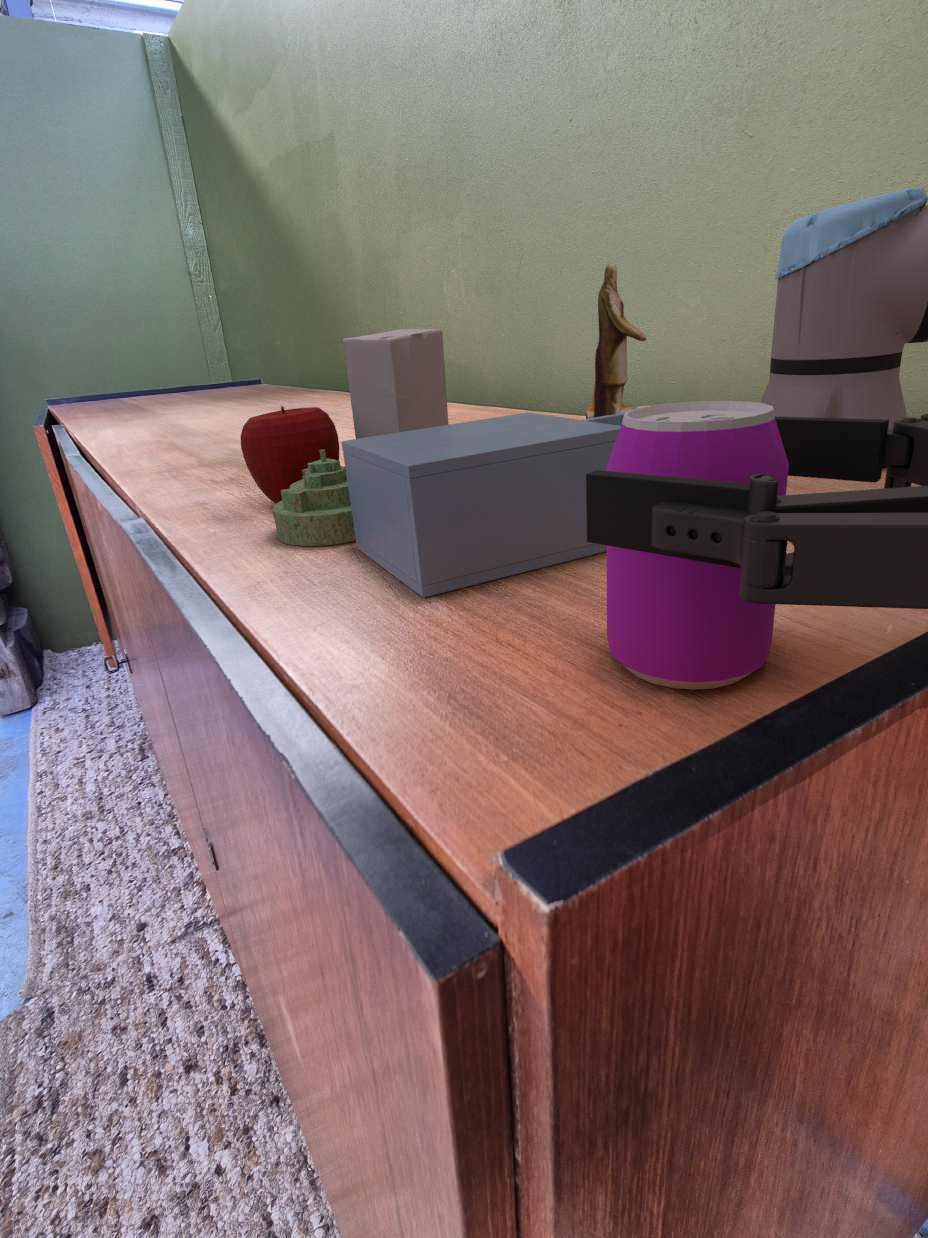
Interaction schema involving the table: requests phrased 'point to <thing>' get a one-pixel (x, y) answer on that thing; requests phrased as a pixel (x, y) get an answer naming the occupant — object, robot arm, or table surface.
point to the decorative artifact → (316, 507)
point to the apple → (286, 446)
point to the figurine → (611, 350)
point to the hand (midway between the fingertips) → (676, 470)
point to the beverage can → (681, 588)
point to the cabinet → (475, 497)
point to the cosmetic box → (396, 381)
